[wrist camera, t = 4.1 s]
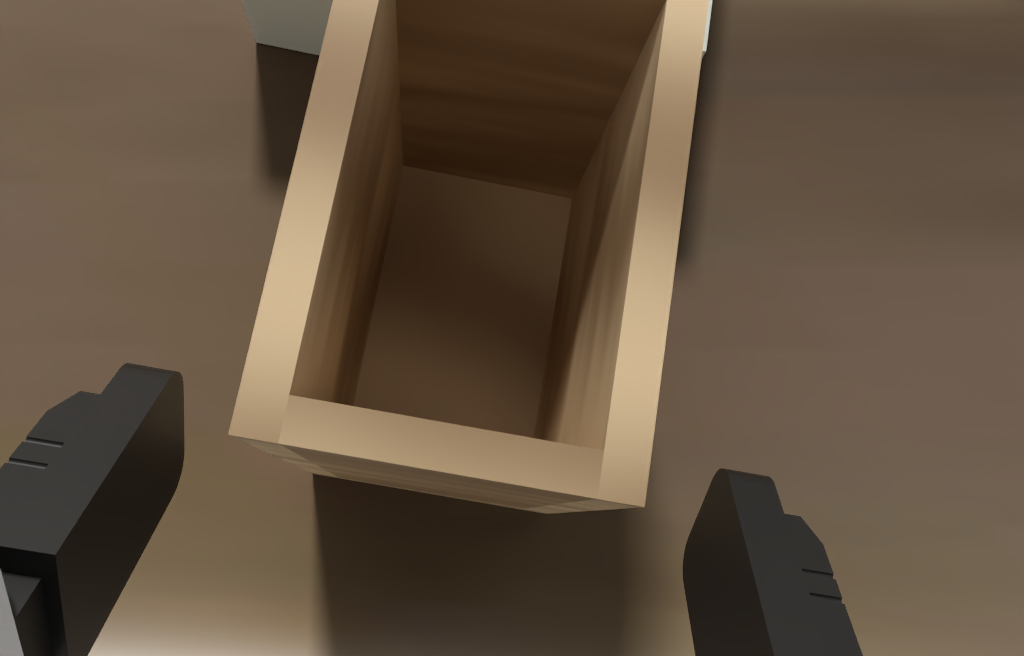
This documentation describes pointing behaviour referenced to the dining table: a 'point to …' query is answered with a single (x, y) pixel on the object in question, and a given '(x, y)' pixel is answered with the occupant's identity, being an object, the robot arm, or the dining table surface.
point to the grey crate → (310, 23)
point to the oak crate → (480, 250)
